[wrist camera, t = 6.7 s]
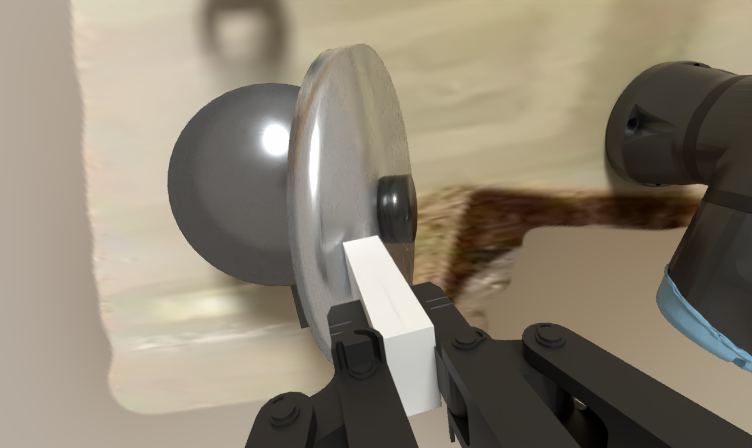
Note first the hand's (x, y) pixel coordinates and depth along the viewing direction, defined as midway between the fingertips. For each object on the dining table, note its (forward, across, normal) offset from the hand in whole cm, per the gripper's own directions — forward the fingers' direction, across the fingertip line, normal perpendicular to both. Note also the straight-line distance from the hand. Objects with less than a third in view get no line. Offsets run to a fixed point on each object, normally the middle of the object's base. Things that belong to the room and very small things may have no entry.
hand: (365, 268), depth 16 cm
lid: (+7, -1, 0) cm, 8 cm away
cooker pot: (+28, +3, +3) cm, 28 cm away
